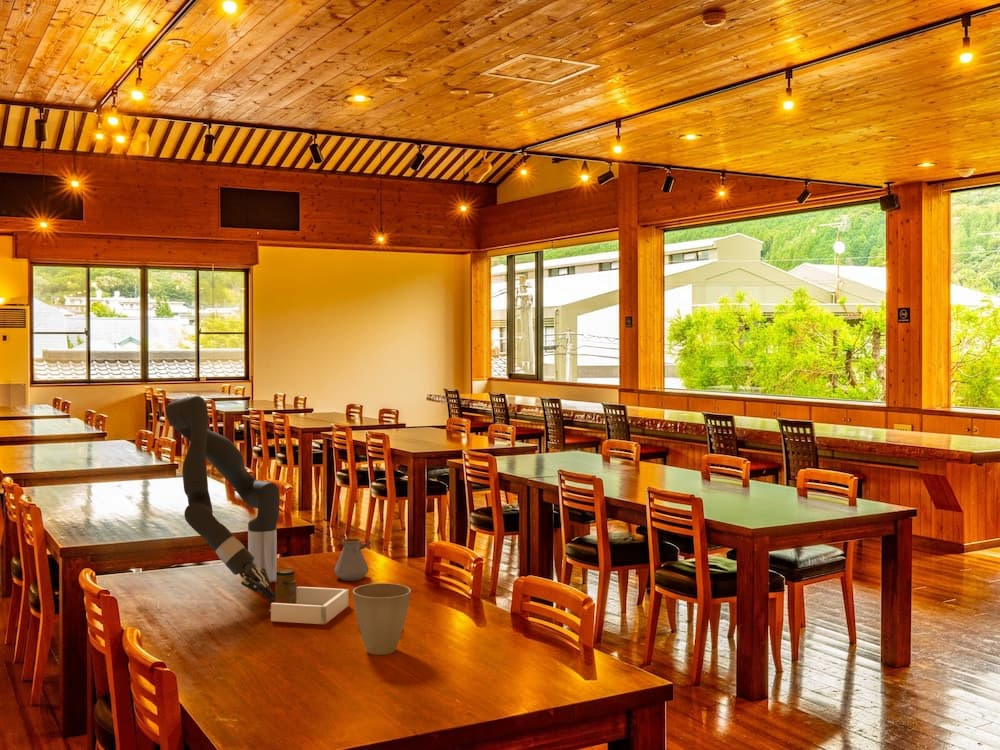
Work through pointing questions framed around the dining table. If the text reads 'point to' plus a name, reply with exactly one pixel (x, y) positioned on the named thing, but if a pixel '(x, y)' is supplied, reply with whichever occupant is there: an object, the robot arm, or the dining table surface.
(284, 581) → the condiment
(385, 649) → the plant pot
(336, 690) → the dining table surface
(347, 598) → the caddy
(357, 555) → the coffee pot
